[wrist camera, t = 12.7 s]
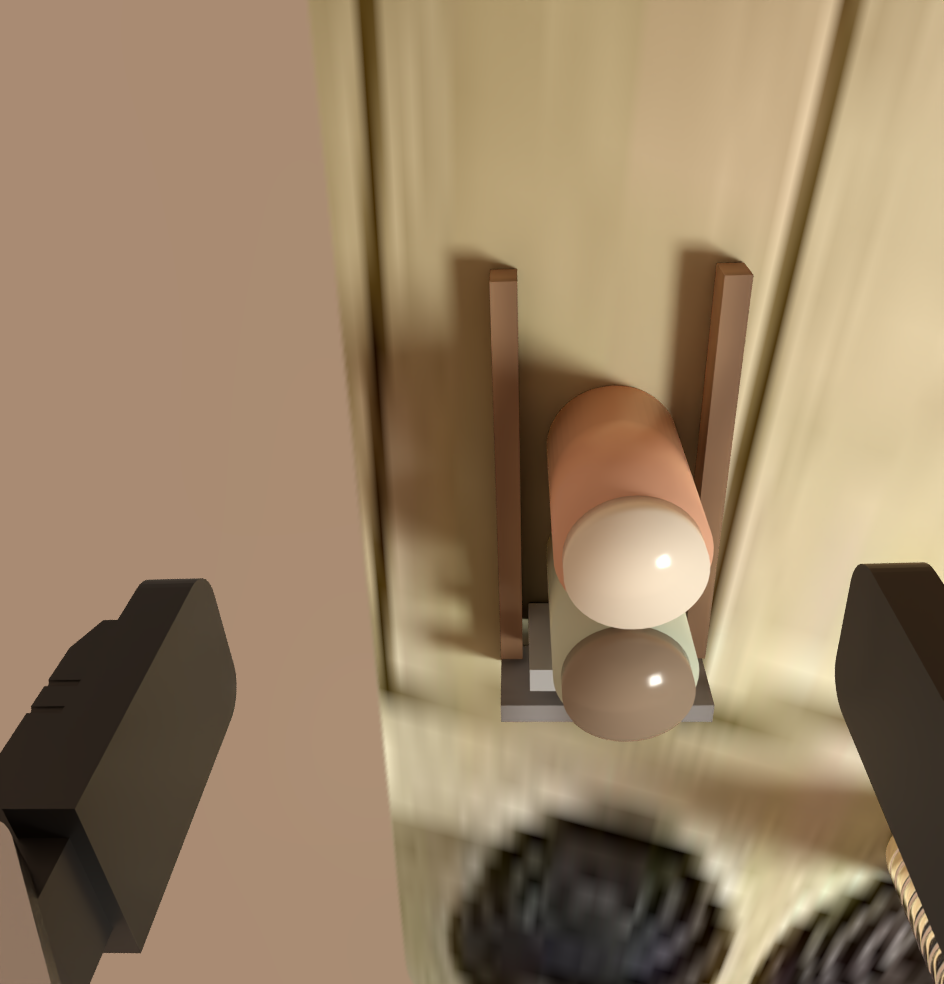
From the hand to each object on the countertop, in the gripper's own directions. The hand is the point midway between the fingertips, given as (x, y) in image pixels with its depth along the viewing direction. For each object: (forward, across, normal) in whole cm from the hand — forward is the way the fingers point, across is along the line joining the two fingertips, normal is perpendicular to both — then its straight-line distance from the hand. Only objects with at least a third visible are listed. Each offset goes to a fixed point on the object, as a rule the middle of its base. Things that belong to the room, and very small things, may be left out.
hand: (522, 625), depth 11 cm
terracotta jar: (+24, -3, +10) cm, 26 cm away
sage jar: (+24, -3, +16) cm, 29 cm away
